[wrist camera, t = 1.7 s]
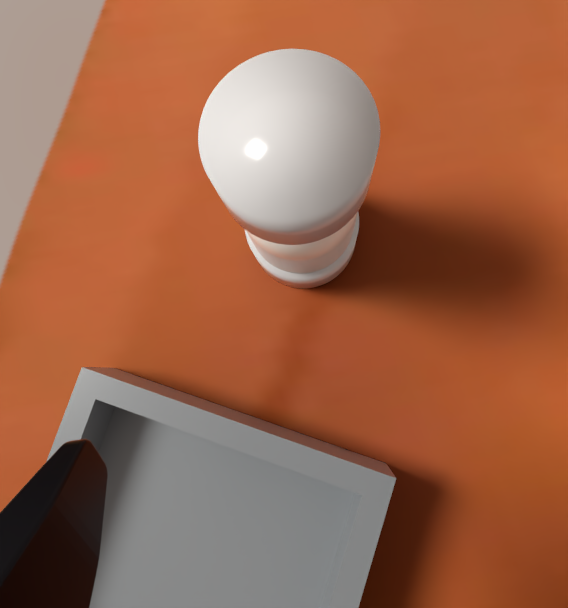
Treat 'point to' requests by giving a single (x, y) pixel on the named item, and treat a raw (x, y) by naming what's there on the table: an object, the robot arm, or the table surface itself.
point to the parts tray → (221, 503)
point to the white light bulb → (292, 159)
